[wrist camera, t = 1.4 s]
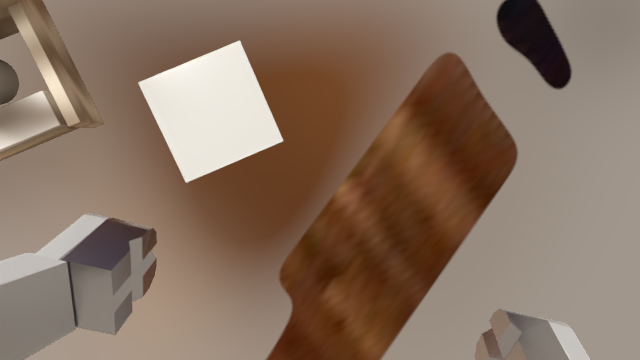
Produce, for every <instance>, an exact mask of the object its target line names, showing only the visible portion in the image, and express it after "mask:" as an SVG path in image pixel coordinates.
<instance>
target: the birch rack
mask: <svg viewBox="0 0 640 360" xmlns="http://www.w3.org/2000/svg"><path fill="white" fill-rule="evenodd" d="M18 32H20V33H21V35H22V37H23V39H24V41H25V43H26V45H27V47H28V49H29V51H30V52H31V55H32V56H33V58H34V60H35V62H36V64H37V66H38V68H39V70H40V72H41V74H42V76H43V78H44V80H45V82H46V84H47V86H48V88H49V90H50V92H51V93H52V95H53V97H54V99H55V101H56V103H57V105H58V107H59V109H60V111H61V113H62V115H63V117H64V119H65V121H66V123H67V125H68V127H85V128H95V127H97V126H100V125H102V124H103V121H102V119H101V117H100V115H99V113H98V111H97V109H96V107H95V105H94V103H93V101H92V99H91V97H90V95H89V93H88V91H87V89H86V87H85V85H84V83H83V81H82V79H81V77H80V75H79V73H78V71H77V69H76V67H75V65H74V63H73V61H72V59H71V57H70V55H69V53H68V51H67V49H66V47H65V45H64V43H63V41H62V39H61V37H60V35H59V33H58V31H57V29H56V27H55V25H54V23H53V21H52V19H51V17H50V15H49V13H48V11H47V9H46V7H45V5H44V3H43V1H42V0H0V39H3V38H5V37H8V36H10V35H13V34H15V33H18Z"/></svg>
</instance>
